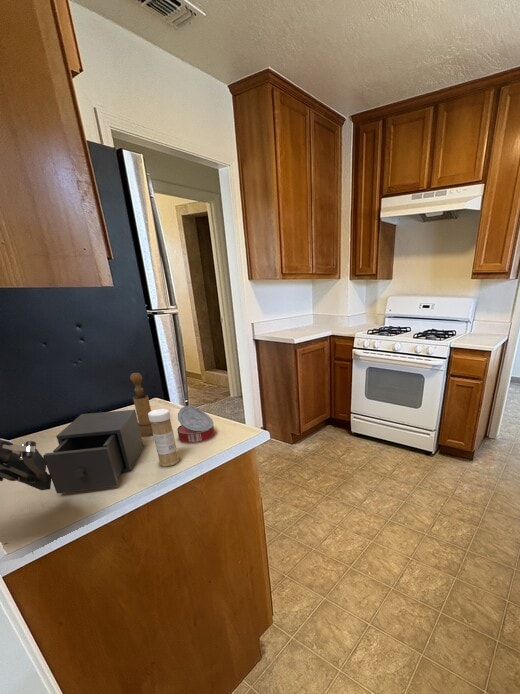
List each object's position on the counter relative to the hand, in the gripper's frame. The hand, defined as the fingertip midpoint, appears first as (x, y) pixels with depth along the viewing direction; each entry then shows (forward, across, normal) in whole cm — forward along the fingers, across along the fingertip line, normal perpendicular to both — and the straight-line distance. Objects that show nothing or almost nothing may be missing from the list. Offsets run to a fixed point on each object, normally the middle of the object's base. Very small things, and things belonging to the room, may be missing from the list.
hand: (46, 482), depth 66 cm
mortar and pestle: (+32, +9, +23) cm, 40 cm away
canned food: (+27, +24, +17) cm, 40 cm away
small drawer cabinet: (+19, +4, +10) cm, 22 cm away
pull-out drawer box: (+12, +4, +4) cm, 13 cm away
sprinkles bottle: (+16, +18, +6) cm, 25 cm away
